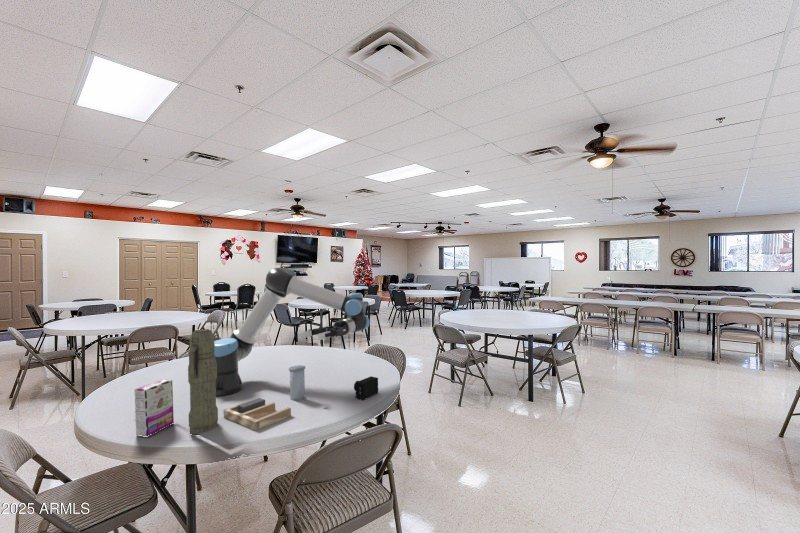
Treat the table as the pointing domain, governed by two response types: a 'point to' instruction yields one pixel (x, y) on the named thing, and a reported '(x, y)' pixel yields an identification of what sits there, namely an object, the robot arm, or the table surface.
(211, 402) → the thermos
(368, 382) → the digital camera
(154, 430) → the candy bar box
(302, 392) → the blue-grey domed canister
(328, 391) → the table surface
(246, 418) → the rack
